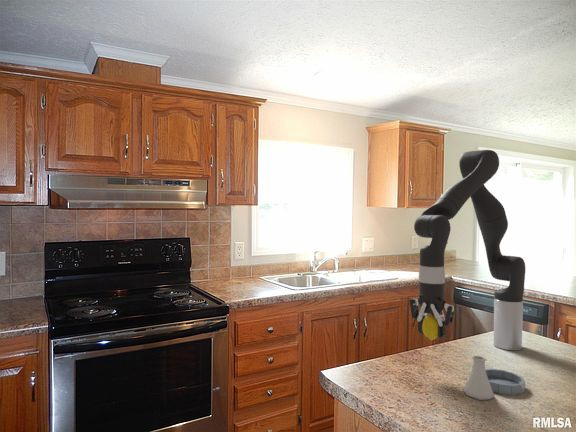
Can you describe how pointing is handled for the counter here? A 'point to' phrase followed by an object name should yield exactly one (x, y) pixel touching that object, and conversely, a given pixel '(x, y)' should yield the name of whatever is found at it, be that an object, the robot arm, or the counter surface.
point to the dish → (505, 382)
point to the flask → (478, 381)
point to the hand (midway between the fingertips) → (431, 335)
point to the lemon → (430, 327)
